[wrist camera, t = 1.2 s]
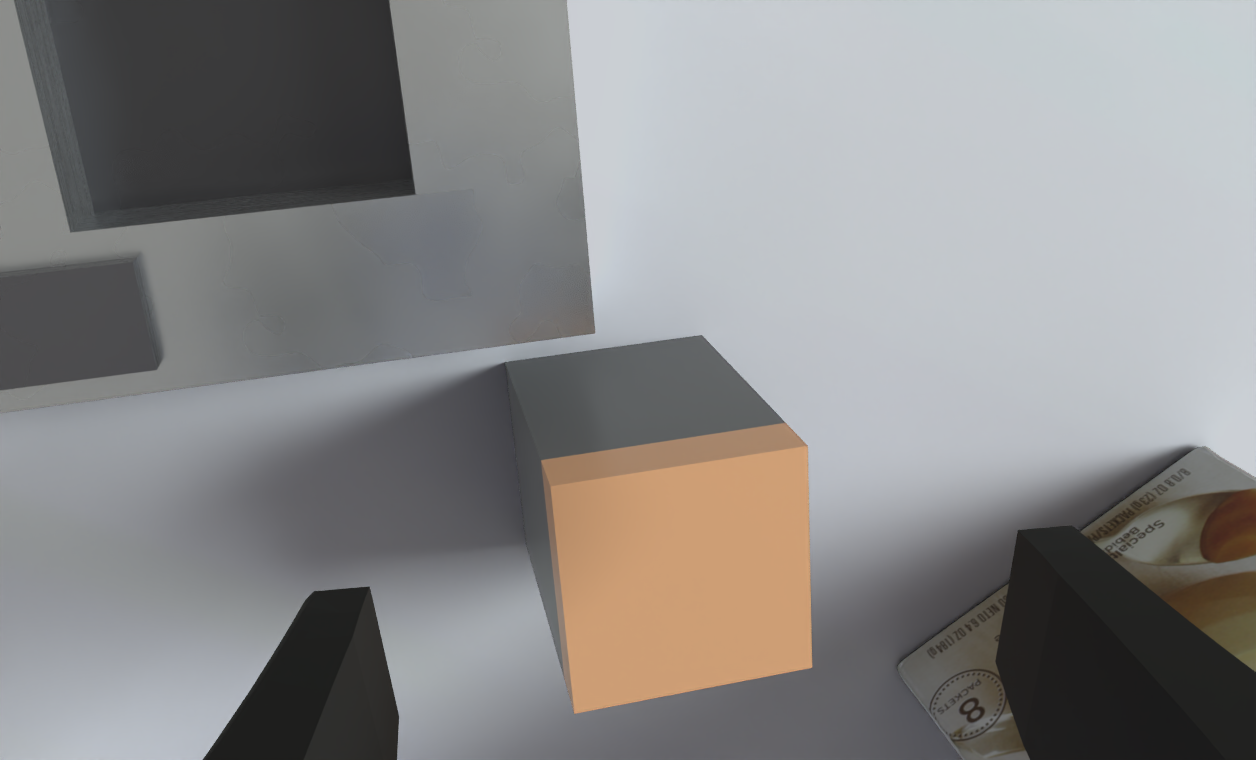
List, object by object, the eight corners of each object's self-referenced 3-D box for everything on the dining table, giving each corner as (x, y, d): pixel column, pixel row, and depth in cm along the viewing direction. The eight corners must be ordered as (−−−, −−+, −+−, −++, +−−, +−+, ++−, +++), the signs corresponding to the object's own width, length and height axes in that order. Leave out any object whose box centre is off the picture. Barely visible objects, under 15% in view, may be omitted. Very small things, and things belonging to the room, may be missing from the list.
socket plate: (576, 304, 22) (599, 340, 20) (-33, 382, 20) (-82, 431, 18) (517, -350, 18) (536, -395, 16) (-237, -329, 17) (-331, -377, 14)
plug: (711, 512, 24) (811, 667, 19) (525, 543, 24) (574, 713, 18) (701, 334, 23) (807, 445, 18) (504, 362, 22) (550, 485, 17)
